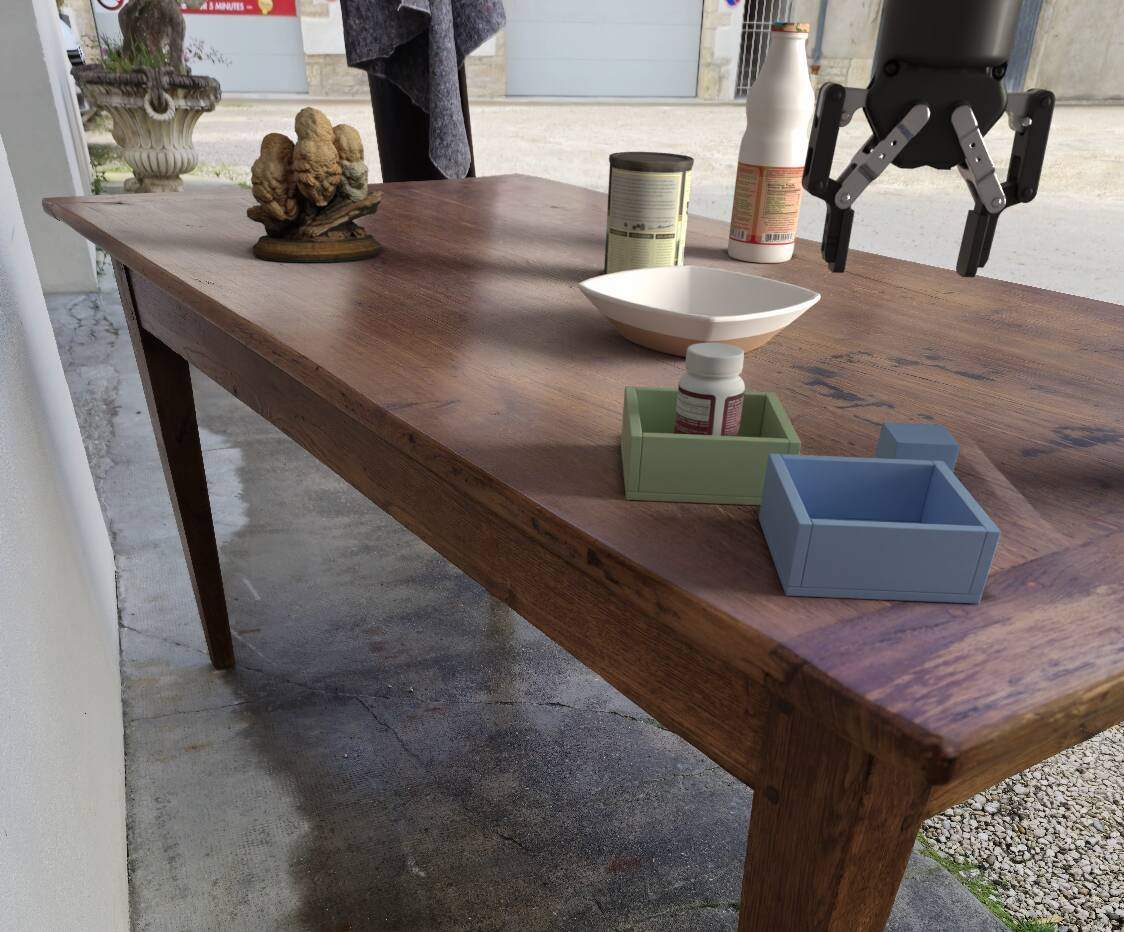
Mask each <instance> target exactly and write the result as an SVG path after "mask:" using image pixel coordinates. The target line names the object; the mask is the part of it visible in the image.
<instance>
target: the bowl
mask: <svg viewBox="0 0 1124 932" xmlns="http://www.w3.org/2000/svg"><path fill="white" fill-rule="evenodd" d="M577 288H578V289H579V291H580V292H581V293H582V294H583V295H584V296H585V297H586V298H587V299H588V300H589V302H590V303H591V304H592V305H593V306H594V307H595V308H596V309H597V310H598V311H599V312H600V313H601V314H602V316H604V317H605V318H606V319H607V321H608V322H610V324H611V325H612V326H613V327H614V328H615V329H616V331H618V333H619V334H621V336H622V337H623V338H624V339H626V340H627V341H630V342H631V343H633V344H636V345H638V346H641V347H643V348H646V349H649V350H653V351H655V352H659V353H662V354H668V355H672V356H677V357H682V358H686V354H687V348H688V347H689V346H691V345H693V344H698V343H723V344H729V345H734V346H736V347H739V348H741V349H742V350H743V351H744V354H745V353H749V352H751V351H753V350H755V349H758V348H760V347H763V346H764V345H765V344H767V342H769V341H770V340H772V338H773V337H775V336H776V335H777V334H779V333H781V331H782V330H784V329H785V328H786V327H788V326H789V325H790V324H792V323H793V322H794V321H796V320H797V319H798V318H799V317H800V316H801V315H803V314H804V313H805V312H807V311H808V310H809V309H810V308H812V307H813V306H814V305H815V304H817V303H818V302H819V301H820V300H821V294H820V293H818V292H816V291H813V290H811V289H808V288H805V287H803V286H798V285H795V284H792V283H788V282H785V281H779V280H775V279H772V278H767V277H763V276H758V275H753V274H748V273H743V272H739V271H733V270H728V269H722V268H716V267H707V266H701V265H691V264H685V265H684V264H683V265H680V266H662V267H652V268H643V269H635V270H628V271H621V272H616V273H611V274H606V275H604V274H602V275H598V276H594V277H590V278H587V279H585V280H583V281H581V282H579V283H578V284H577Z"/></svg>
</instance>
